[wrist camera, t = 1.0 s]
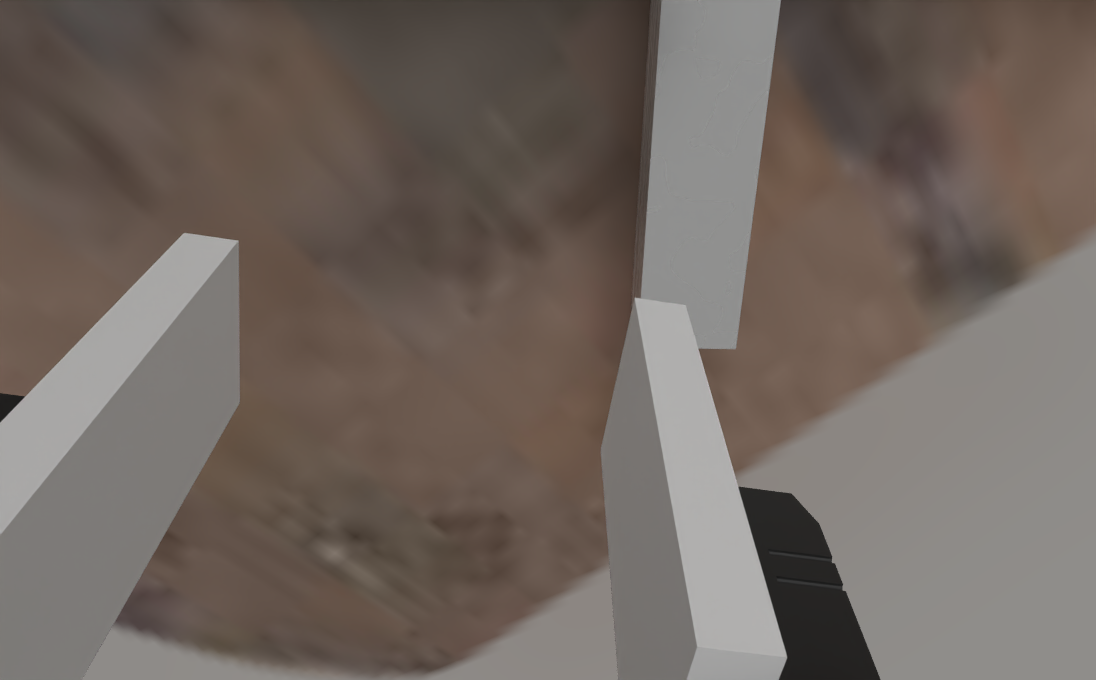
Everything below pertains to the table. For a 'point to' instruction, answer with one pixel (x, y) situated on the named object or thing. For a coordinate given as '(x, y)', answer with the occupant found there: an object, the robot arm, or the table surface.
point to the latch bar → (702, 157)
